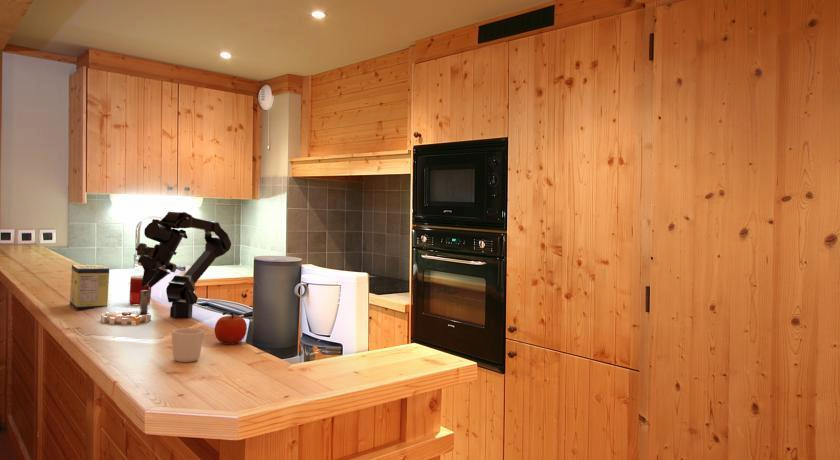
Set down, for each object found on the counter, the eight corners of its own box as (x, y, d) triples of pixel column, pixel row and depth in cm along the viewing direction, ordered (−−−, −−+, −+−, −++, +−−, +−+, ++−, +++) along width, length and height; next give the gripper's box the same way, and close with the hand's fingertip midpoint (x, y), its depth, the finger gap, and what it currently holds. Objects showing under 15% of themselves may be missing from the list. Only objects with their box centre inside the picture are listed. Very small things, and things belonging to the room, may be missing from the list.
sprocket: (160, 320, 200) (161, 291, 200) (123, 326, 186) (125, 295, 186) (128, 314, 206) (130, 286, 205) (90, 320, 192) (92, 290, 192)
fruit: (253, 343, 180) (254, 311, 180) (228, 347, 172) (230, 314, 172) (231, 338, 185) (233, 306, 185) (207, 342, 177) (209, 310, 177)
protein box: (99, 303, 231) (101, 264, 231) (107, 309, 219) (110, 268, 219) (69, 304, 224) (71, 264, 224) (76, 311, 212) (78, 268, 212)
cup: (179, 353, 162) (181, 325, 162) (208, 354, 163) (210, 326, 162) (165, 363, 151) (167, 332, 151) (197, 364, 152) (199, 334, 152)
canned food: (142, 305, 231) (143, 278, 231) (124, 303, 233) (126, 276, 233) (154, 303, 239) (156, 276, 239) (137, 301, 240) (139, 275, 240)
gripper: (158, 238, 210) (137, 277, 208) (135, 232, 192) (111, 275, 190) (186, 252, 210) (165, 291, 208) (165, 246, 191) (142, 289, 189)
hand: (146, 286), depth 199 cm, fingers open, 5 cm apart
